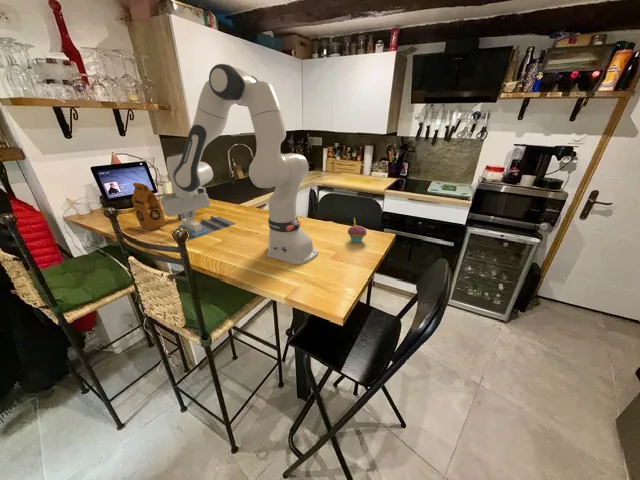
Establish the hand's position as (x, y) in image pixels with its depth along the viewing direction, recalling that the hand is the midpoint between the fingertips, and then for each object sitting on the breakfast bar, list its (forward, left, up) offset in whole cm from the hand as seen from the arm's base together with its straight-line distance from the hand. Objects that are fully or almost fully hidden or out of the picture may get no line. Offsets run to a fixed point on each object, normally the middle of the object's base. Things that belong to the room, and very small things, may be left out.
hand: (190, 220), depth 122 cm
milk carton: (+20, -7, -7) cm, 23 cm away
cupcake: (-65, -44, -7) cm, 79 cm away
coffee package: (+22, +9, -7) cm, 25 cm away
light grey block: (0, 0, -6) cm, 6 cm away
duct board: (0, -6, -7) cm, 9 cm away
